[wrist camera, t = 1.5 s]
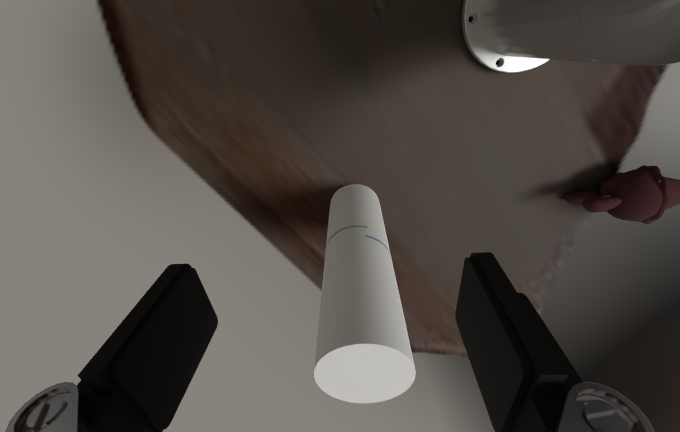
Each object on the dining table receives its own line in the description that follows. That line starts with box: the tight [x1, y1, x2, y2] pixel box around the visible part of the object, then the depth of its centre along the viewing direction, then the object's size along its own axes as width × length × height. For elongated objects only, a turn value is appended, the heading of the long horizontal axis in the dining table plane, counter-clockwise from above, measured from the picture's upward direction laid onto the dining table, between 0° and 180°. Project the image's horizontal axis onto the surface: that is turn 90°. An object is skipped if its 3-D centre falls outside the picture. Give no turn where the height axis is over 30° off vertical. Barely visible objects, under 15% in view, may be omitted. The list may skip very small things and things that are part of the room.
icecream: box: [565, 166, 680, 224], centre depth 37 cm, size 7×7×15 cm
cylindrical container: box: [314, 184, 416, 403], centre depth 31 cm, size 7×7×25 cm
